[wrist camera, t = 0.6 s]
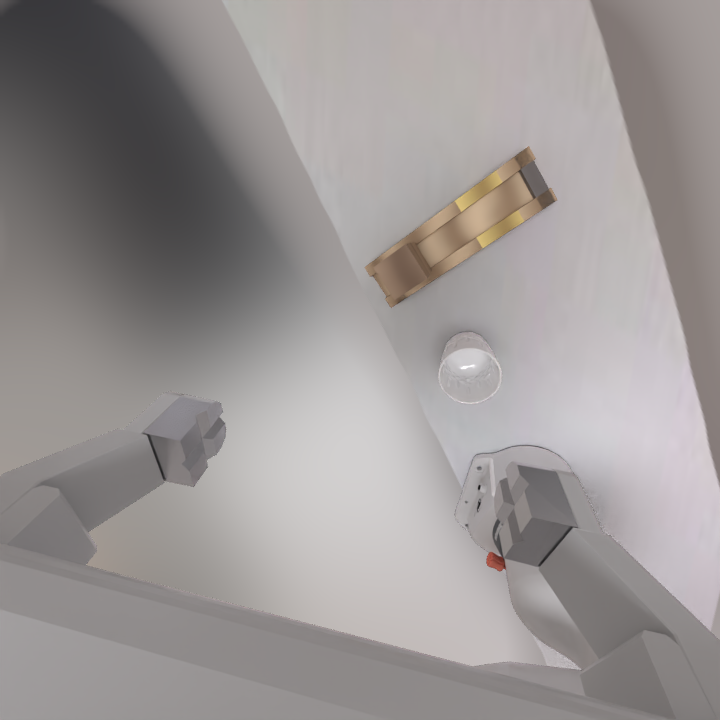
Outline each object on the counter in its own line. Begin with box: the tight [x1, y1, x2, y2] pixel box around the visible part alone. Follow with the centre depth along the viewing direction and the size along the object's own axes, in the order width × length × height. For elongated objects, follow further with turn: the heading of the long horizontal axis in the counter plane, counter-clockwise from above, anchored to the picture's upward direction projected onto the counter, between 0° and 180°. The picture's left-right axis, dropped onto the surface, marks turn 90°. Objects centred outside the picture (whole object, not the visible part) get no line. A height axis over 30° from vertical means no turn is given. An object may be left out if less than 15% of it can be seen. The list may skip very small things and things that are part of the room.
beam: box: [365, 146, 557, 308], centre depth 45 cm, size 24×7×4 cm, turn 126°
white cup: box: [438, 332, 502, 404], centre depth 47 cm, size 8×8×10 cm
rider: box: [373, 242, 432, 300], centre depth 42 cm, size 4×4×10 cm
